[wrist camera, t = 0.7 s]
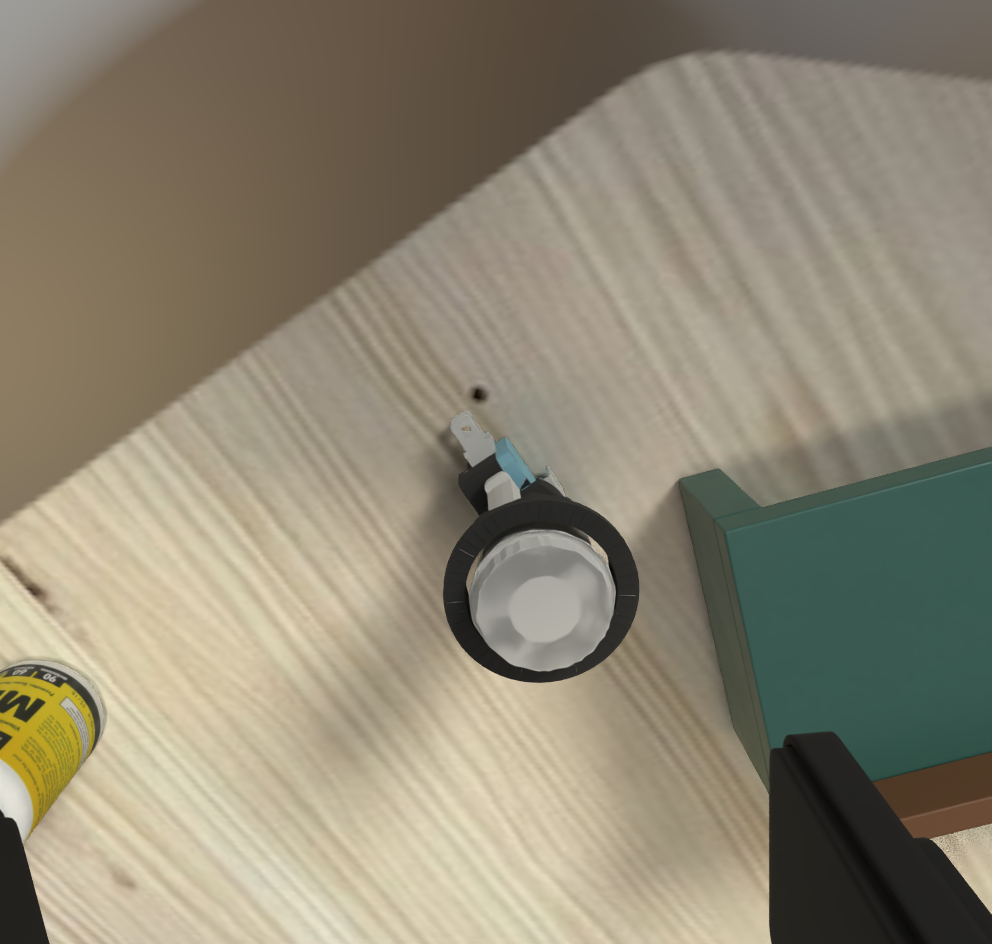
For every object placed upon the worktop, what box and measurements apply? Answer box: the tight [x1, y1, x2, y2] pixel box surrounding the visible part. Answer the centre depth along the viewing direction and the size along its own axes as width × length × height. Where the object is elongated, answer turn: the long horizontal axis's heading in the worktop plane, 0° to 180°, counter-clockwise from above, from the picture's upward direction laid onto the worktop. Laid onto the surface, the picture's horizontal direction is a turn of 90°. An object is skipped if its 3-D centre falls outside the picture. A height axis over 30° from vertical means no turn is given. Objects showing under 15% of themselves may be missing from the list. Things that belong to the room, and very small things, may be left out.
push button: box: [443, 410, 639, 683], centre depth 27 cm, size 7×5×10 cm
